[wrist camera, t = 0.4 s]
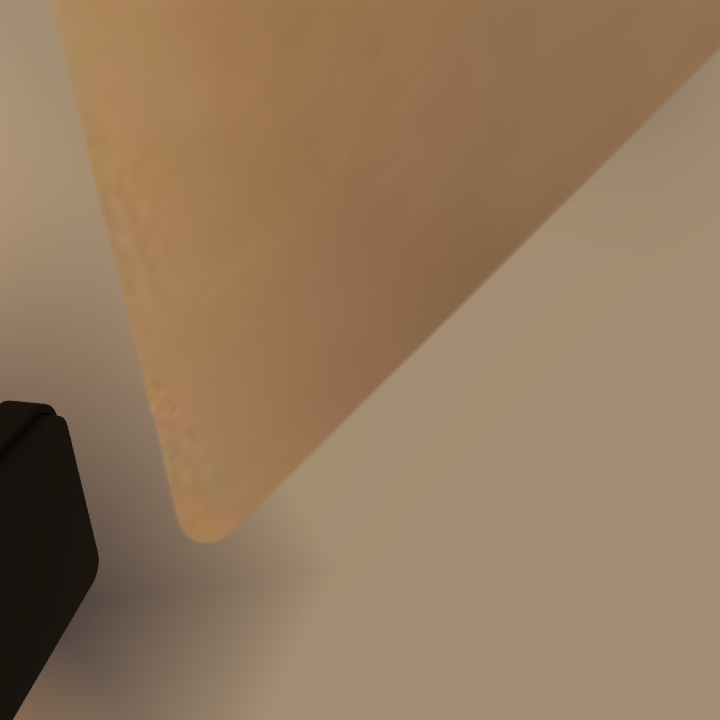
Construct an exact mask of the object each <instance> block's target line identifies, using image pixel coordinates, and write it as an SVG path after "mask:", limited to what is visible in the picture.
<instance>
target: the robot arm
mask: <svg viewBox="0 0 720 720" xmlns="http://www.w3.org/2000/svg"><path fill="white" fill-rule="evenodd" d="M98 563H99V557H98V551H97V547H96V543H95V539H94V535H93V530H92V526H91V522H90V518H89V514H88V509H87V506H86V501H85V497H84V493H83V489H82V484H81V480H80V476H79V472H78V468H77V463H76V459H75V455H74V451H73V447H72V442H71V438H70V434H69V430H68V426H67V423H66V421H65V419H64V418H63V417H60V416H57V415H56V412H55V410H54V409H53V408H52V407H51V406H50V405H47V404H40V403H29V402H20V401H19V402H18V401H4V402H2V403H1V404H0V720H13V718H14V717H15V715H16V713H17V712H18V710H19V708H20V706H21V705H22V703H23V701H24V700H25V698H26V696H27V694H28V693H29V691H30V689H31V688H32V686H33V684H34V683H35V681H36V679H37V677H38V676H39V674H40V672H41V671H42V669H43V667H44V666H45V664H46V662H47V660H48V658H49V657H50V655H51V654H52V652H53V650H54V648H55V647H56V645H57V643H58V642H59V640H60V638H61V636H62V634H63V633H64V631H65V630H66V628H67V626H68V624H69V623H70V621H71V619H72V618H73V616H74V614H75V612H76V611H77V609H78V607H79V606H80V604H81V602H82V601H83V599H84V597H85V596H86V594H87V592H88V590H89V589H90V587H91V585H92V583H93V582H94V579H95V577H96V574H97V570H98Z"/></svg>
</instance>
